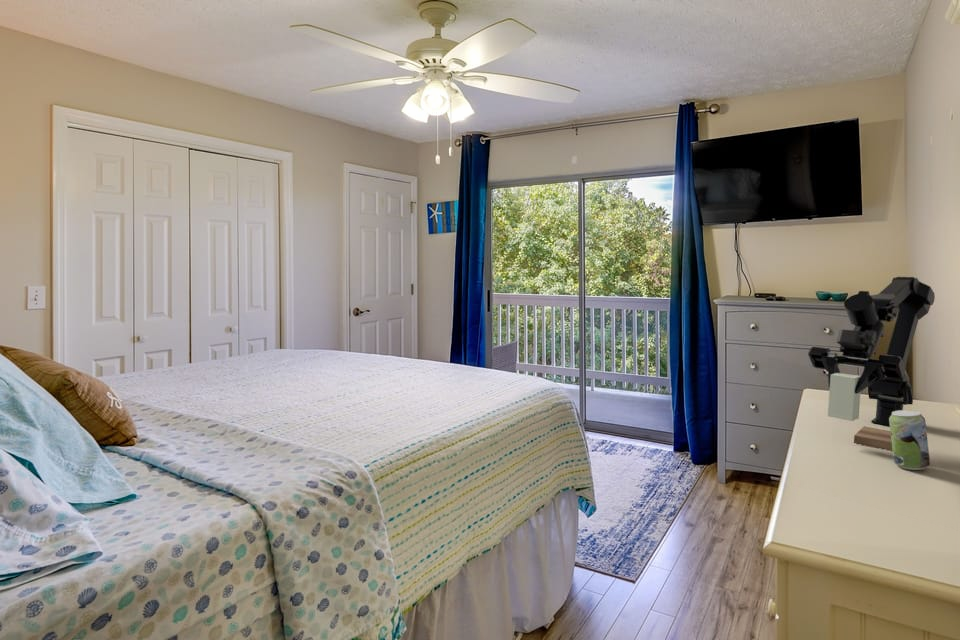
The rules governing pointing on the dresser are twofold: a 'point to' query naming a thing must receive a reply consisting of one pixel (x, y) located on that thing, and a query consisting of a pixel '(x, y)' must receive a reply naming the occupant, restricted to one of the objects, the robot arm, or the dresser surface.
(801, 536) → the dresser surface
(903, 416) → the beverage can
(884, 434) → the walnut block
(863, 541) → the dresser surface
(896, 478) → the dresser surface
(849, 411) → the sage block
